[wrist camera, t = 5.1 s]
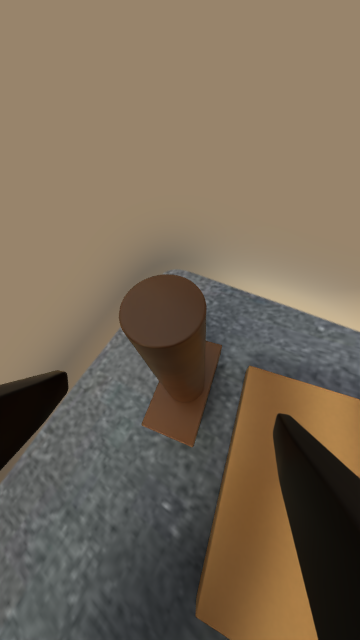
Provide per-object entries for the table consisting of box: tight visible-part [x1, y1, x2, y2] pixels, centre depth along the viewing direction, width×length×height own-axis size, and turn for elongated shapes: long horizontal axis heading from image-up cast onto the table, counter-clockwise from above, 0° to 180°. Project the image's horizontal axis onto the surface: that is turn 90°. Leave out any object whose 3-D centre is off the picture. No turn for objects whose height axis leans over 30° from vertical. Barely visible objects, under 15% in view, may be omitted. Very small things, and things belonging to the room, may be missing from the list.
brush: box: [119, 274, 222, 447], centre depth 12 cm, size 7×4×13 cm, turn 160°
